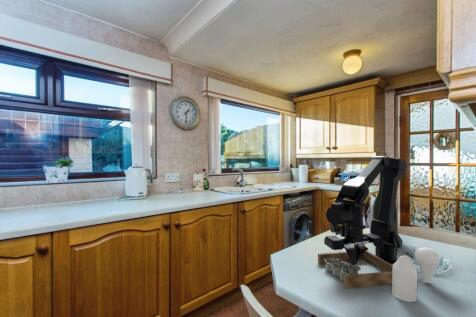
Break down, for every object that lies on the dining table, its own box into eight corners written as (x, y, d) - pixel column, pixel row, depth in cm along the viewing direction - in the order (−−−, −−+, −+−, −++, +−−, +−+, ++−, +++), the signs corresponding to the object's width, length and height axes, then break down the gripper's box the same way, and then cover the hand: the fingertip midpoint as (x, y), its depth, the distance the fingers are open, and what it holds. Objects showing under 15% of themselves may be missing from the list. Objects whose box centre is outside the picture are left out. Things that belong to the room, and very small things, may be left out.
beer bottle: (403, 245, 103) (404, 171, 102) (380, 245, 103) (380, 171, 102) (388, 236, 113) (389, 169, 113) (367, 236, 113) (367, 170, 113)
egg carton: (362, 280, 74) (362, 267, 74) (343, 284, 72) (343, 271, 72) (339, 265, 84) (339, 254, 84) (321, 267, 82) (322, 256, 82)
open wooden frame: (366, 259, 89) (366, 250, 89) (404, 283, 72) (404, 271, 72) (317, 262, 86) (317, 253, 86) (345, 288, 69) (345, 277, 69)
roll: (407, 250, 68) (423, 258, 62) (406, 290, 68) (423, 302, 63) (387, 250, 68) (402, 259, 62) (387, 291, 68) (401, 303, 62)
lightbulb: (441, 290, 68) (441, 253, 68) (415, 284, 71) (415, 249, 71) (437, 281, 73) (437, 246, 73) (413, 275, 76) (413, 242, 76)
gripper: (362, 213, 88) (361, 254, 88) (316, 215, 85) (316, 257, 85) (384, 221, 77) (384, 268, 77) (333, 224, 74) (333, 272, 74)
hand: (353, 266), depth 79 cm, fingers closed
